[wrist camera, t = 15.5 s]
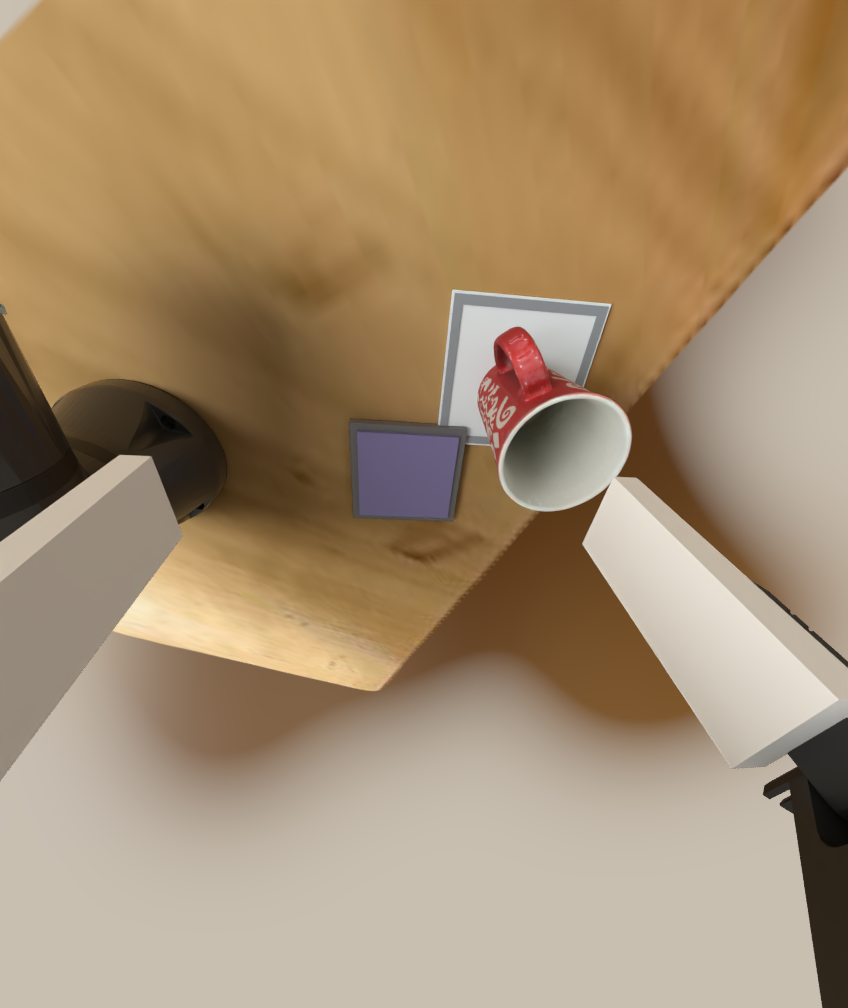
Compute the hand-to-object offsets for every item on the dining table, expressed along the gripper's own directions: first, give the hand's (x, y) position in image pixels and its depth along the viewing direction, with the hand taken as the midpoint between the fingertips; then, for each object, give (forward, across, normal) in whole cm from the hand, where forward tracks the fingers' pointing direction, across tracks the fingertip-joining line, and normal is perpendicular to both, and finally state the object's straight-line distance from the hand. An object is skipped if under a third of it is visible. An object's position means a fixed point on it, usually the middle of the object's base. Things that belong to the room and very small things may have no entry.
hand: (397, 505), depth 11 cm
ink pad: (+26, +2, -14) cm, 29 cm away
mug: (+25, +11, -2) cm, 28 cm away
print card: (+25, +12, -3) cm, 28 cm away
